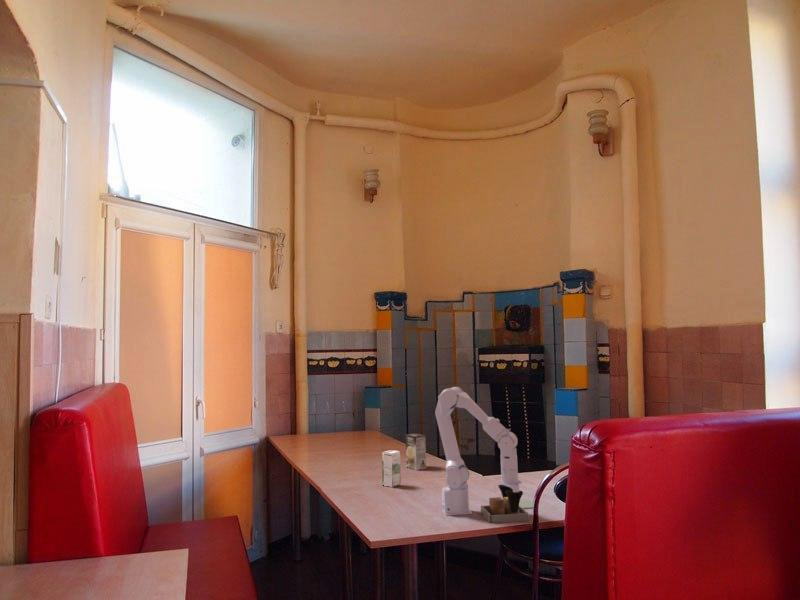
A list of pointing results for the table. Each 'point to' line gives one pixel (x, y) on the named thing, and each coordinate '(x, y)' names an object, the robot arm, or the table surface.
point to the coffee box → (415, 451)
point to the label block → (507, 506)
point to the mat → (526, 504)
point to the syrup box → (391, 468)
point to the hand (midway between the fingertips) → (511, 508)
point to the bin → (504, 515)
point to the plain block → (496, 506)
